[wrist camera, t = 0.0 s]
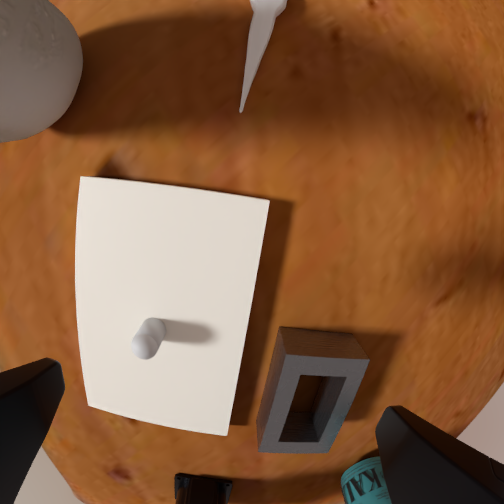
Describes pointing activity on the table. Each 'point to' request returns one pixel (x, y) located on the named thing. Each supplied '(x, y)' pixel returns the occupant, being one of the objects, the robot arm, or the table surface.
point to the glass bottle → (35, 67)
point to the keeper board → (164, 298)
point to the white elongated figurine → (259, 38)
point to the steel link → (328, 396)
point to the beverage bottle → (365, 483)
